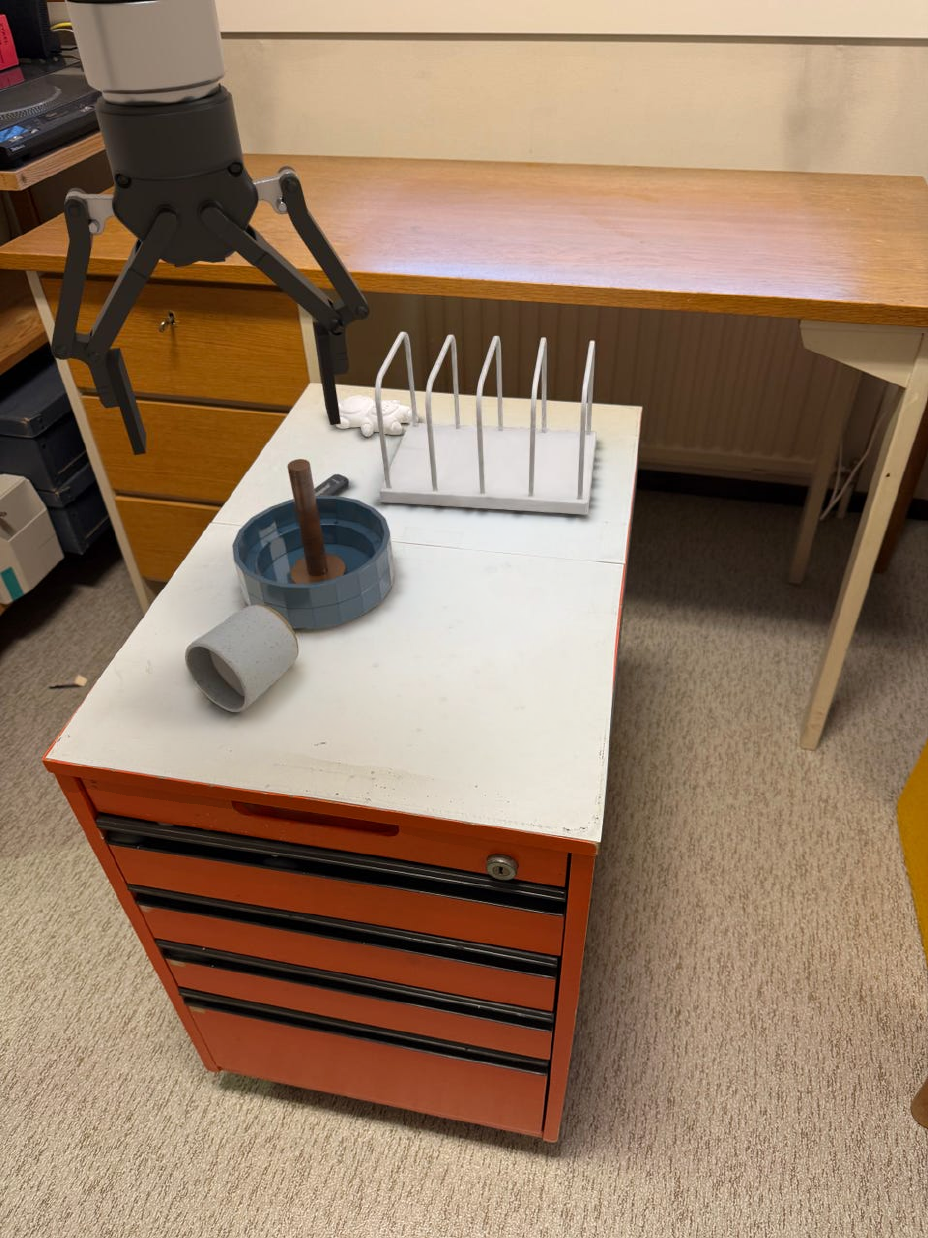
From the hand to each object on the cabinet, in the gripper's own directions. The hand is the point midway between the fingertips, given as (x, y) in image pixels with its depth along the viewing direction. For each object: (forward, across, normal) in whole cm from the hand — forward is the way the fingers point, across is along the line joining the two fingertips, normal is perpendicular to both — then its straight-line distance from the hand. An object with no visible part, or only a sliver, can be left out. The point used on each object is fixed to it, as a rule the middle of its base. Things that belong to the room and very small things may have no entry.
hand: (238, 430), depth 63 cm
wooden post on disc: (+28, -4, -18) cm, 34 cm away
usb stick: (+29, -6, -34) cm, 45 cm away
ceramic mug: (+29, +5, -5) cm, 30 cm away
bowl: (+29, -4, -18) cm, 34 cm away
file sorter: (+29, -28, -34) cm, 53 cm away
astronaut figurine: (+29, -16, -52) cm, 62 cm away
